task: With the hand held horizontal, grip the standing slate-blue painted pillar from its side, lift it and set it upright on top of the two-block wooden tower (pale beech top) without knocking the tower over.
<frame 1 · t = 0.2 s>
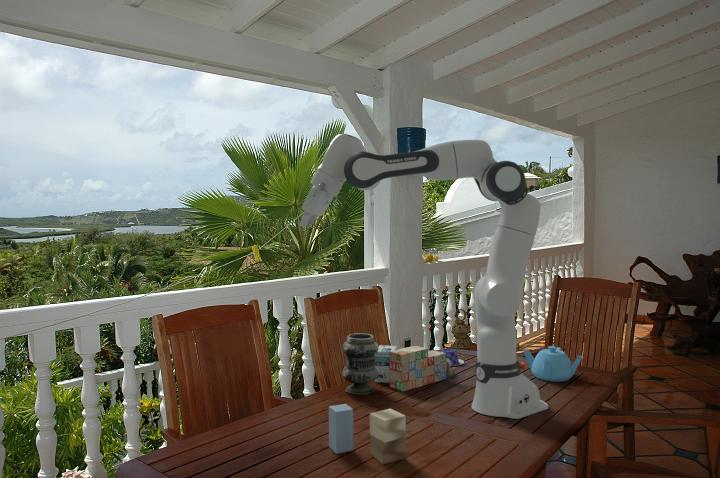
hand: (304, 226, 164), 54 cm above the table, tool tilted 25°, fingers open, 8 cm apart
pillar: (341, 448, 135), on the table
apothecary jar: (360, 391, 181), on the table
tower top: (387, 435, 130), point 5 cm above the table, touching tower base
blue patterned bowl: (448, 364, 216), on the table
stack of blocks: (418, 384, 188), on the table, touching eagle figurine
tower base: (387, 456, 130), on the table, touching tower top
light bulb box: (386, 379, 194), on the table
eagle figurine: (444, 375, 199), on the table, touching stack of blocks
teapot: (551, 377, 195), on the table
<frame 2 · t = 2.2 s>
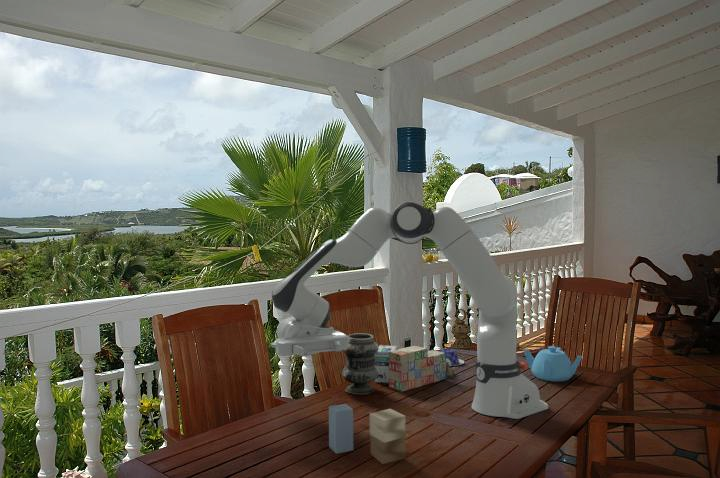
hand: (322, 350, 145), 22 cm above the table, tool horizontal, fingers open, 8 cm apart
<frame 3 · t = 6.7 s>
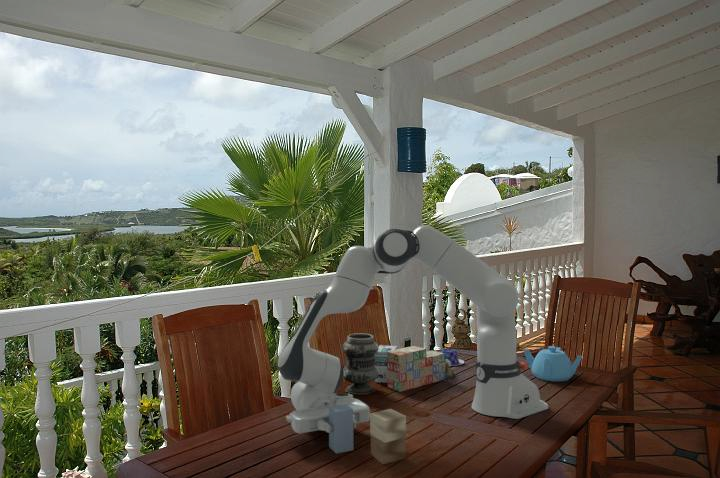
hand: (342, 427, 134), 6 cm above the table, tool horizontal, fingers closed on pillar, 4 cm apart
pillar: (341, 448, 135), on the table, touching gripper
when the fingers open (16 cm above the table, at t = 10.7 s): pillar drops 1 cm, resting on tower top.
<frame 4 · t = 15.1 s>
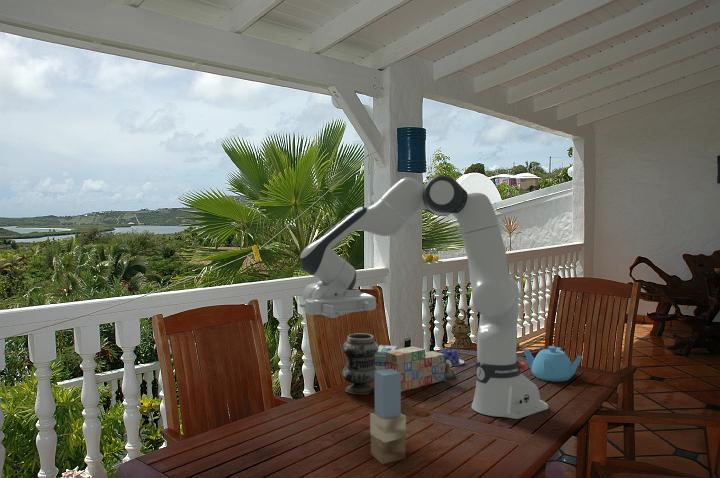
hand: (351, 308, 147), 32 cm above the table, tool horizontal, fingers open, 8 cm apart
pillar: (387, 414, 130), point 10 cm above the table, touching tower top
tower top: (388, 435, 130), point 5 cm above the table, touching pillar, tower base
eagle figurine: (444, 376, 197), on the table, touching stack of blocks
at the end: pillar 0.0 cm off-centre on the tower top, point 5.0 cm above the tower top's base; pillar tilted 0°; tower top moved 0.1 cm from its start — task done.
